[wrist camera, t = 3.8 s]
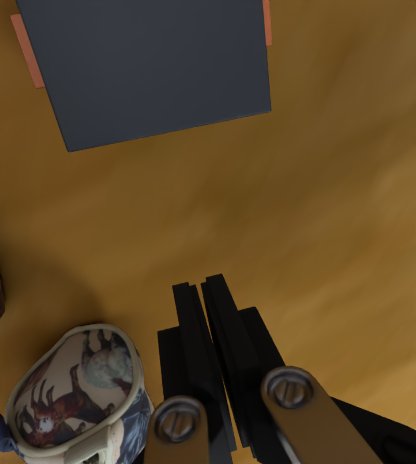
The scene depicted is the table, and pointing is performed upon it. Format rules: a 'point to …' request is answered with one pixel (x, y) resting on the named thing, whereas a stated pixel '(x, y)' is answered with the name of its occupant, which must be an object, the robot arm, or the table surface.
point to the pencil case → (80, 402)
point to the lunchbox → (145, 64)
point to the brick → (1, 301)
